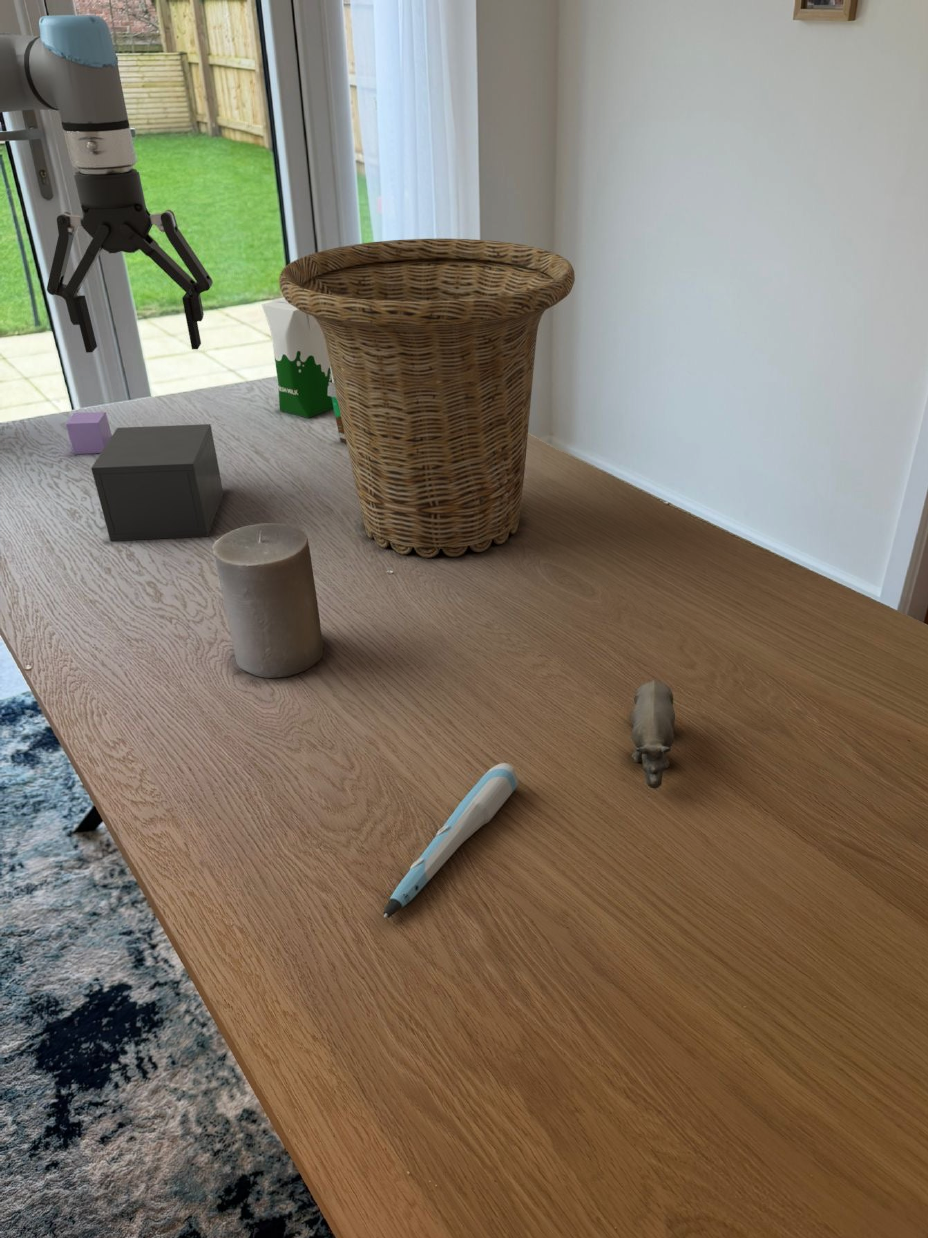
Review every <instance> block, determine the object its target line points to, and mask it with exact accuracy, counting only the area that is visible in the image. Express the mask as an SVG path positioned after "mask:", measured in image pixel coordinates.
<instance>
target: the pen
mask: <svg viewBox="0 0 928 1238" xmlns="http://www.w3.org/2000/svg"><path fill="white" fill-rule="evenodd" d="M518 785H519V779H518V776H517V772H516V771H515V768H514V767H513V765H511V764H509V763H508V762H501V763H498V764H496V765H494V766H492V767H491V768H490V769H489V770H487V772H486V773H485V774H483V775H482V777H480V779H479V780H478V781H477V782H476V784H475V785H474V786H473V787H472V788H471V790H470V791H469V792H467V794H466V795H465V797H464V798H463V799H462V800H461V801H460V803H459V804H458V805H457V807H456V808H455V809H454V811H453V812H452V813H451V815H450V816H449V818H448V819H447V820H446V822H445V823H444V824H443V825H442V827H441V828H440V829H439V830H437V832H436V835H435V836H434V838H433V839H432V840H431V842H430V843H429V845H428V846H427V847H426V849H425V850H424V851H423V852H422V854H421V855H420V856H419V857H418V859H417V860H415V861H414V862H412V864H411V866H410V869H409V870H408V872H407V873H406V874H405V876H404V877H403V878H402V880H401V881H400V882H399V884H398V885H397V887H396V888H395V890H394V891H393V893H391V896H390V897H389V899H388V903H387V904H386V907H385V908H384V911H383V918H384V919H386V918H390V917H391V916H393V915H394V914H396V913H397V912H398V911H400V910H401V909H402V908H404V907H405V906H406V905H408V904H409V903H410V902H411V901H412V900H413V899H414V898H415V897H416V896H417V895H418V894H419V892H421V891H422V889H423V888H424V887H425V886H426V885H427V884H428V882H429V881H430V880H431V879H432V878H433V877H434V875H436V873H437V872H438V871H439V870H440V869H441V868H442V867H443V866H444V865H445V863H446V862H447V861H448V860H449V859H450V857H452V855H454V853H455V852H456V851H457V849H459V847H461V845H462V844H463V843H464V842H466V841H467V840H468V839H469V838H470V837H471V836H472V835H473V834H474V833H475V832H476V833H477V831H478V830H479V829H481V827H483V826H484V825H486V824H488V823H489V822H490V821H491V820H492V819H493V817H494V816H495V815H496V814H497V812H498V811H499V810H500V809H501V807H502V806H503V805H504V804H505V802H506V801H507V800H508V799H509V797H510V796H511V795H512V794H513V792H514V791H515V790H516V789H517V787H518Z"/></svg>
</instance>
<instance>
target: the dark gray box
mask: <svg viewBox="0 0 928 1238" xmlns="http://www.w3.org/2000/svg"><path fill="white" fill-rule="evenodd" d="M111 435H112V437H111V438H110V440H109V441H108V443H107V444H106V446H105V447H104V449H103V451H102V452H101V453H99V455H98V457H96V459H95V461H94V463H93V464H92V465H91V467H90V469H91V473H92V477H93V480H94V484H95V488H96V492H97V497H98V499H99V503H100V507H101V511H102V514H103V519H104V522H105V526H106V529H107V534H108V538H109V541H110V542H121V541H122V542H123V541H142V540H143V541H144V540H160V539H161V540H162V539H163V540H164V539H180V538H181V539H183V538H203V537H204V538H207V537H209V534H210V531H211V528H212V525H213V522H214V520H215V517H216V515H217V512H218V509H219V506H220V503H221V501H222V498H223V494H224V488H223V482H222V477H221V473H220V467H219V462H218V455H217V452H216V445H215V440H214V435H213V430H212V424H211V423H204V424H179V425H178V424H177V425H156V426H155V425H154V426H153V425H152V426H127V427H116V429H115V431H114V432H113V434H111Z"/></svg>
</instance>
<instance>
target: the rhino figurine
mask: <svg viewBox="0 0 928 1238" xmlns="http://www.w3.org/2000/svg"><path fill="white" fill-rule="evenodd" d="M633 702H634V707H633V710H632V712H631V716H630V721H631V725H632V730H631V736H630V737H631V741H632V742H633V744H634V745H635V747H636V748H635V751H634V752H633V753H632V754H631V758H632V759H633V761H634V762H635V763H642V770H643V772H644V774H645V781H646V785H647V787H649V788H650V789H652V790H653V789H654V790H655V789H658V788H659V787H661V786H662V782H663V773H664V771H665V770H667V769H668V768H669V766H670V760H668V758H667V756H666V755H667V754H668V753H669V752H671V748H672V745H673V744H674V741H675V734H674V729H673V728H674V725H675V721H676V713H675V708H674V694H673V691H672V689H671V688H670V687H669V686H668V685H667V684H665V683H663V682H660V681H658V680H656V679H653V680H651V681H649V682H646V683H644V684H642V685H640V686H639V687H638V688H637V690H636V691H635V694H634V697H633Z"/></svg>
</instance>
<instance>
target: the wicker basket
mask: <svg viewBox="0 0 928 1238" xmlns="http://www.w3.org/2000/svg"><path fill="white" fill-rule="evenodd" d="M575 278H576V277H575V269H574V267H573V265H572V264H571V262H570V261H569V260H568V259H566V257H564V256H561V254H558V253H555V252H552V251H550V250H546V249H543V248H539V247H536V246H535V247H534V246H530V245H526V244H520V243H513V242H506V241H498V240H489V239H488V240H486V239H471V238H411V239H395V240H394V239H392V240H381V241H372V242H371V241H370V242H363V243H357V244H349V245H345V246H344V245H343V246H338V247H334V248H329V249H325V250H321V251H317V252H314V253H311V254H308V255H305V256H302V257H299V258H298V259H295V260H293V261H291V262H289V263H288V264H287V265H286V266H284V267H283V269H282V270H281V272H280V274H279V277H278V283H279V285H278V286H279V291H280V292H281V294H282V297H283V298H285V300H286V301H287V302H288V303H289V304H291V305H293V306H294V307H296V308H297V309H299V310H300V311H302V312H304V313H306V314H309V315H311V316H313V317H314V318H315V319H316V320H317V322H318V324H319V326H320V328H321V330H322V332H323V335H324V338H325V342H326V347H327V352H328V356H329V361H330V369H331V376H332V381H333V383H334V385H335V390H336V394H337V399H338V404H339V409H340V413H341V418H342V423H343V428H344V433H345V437H346V442H347V444H346V446H347V452H348V456H349V460H350V467H351V471H352V475H353V480H354V485H355V490H356V493H357V499H358V503H359V508H360V512H361V517H362V520H363V524H364V529H365V532H366V534H367V536H368V538H369V539H374V541H375V542H376V544H377V545H378V546H379V547H381V548H383V549H385V548H388V547H389V546H391V548H392V549H393V550H394V551H395V552H396V553H397V554H400V555H409V554H410V553H411V552H412V551H413V548H414V551H415V552H416V553H417V554H418V555H419V556H420V557H422V558H426V559H430V558H434V557H436V556H437V555H438V554H439V552H440V550H442V552H443V554H445V555H447V557H450V558H458V557H461V556H462V555H464V554H465V553H466V551H467V550H468V547H469V548H470V550H472V552H475V553H482V552H484V551H486V550H488V549H489V548H490V546H491V544H492V542H493V543H494V544H496V545H502V544H504V543H505V542H506V541H507V539H508V537H509V535H515V534H516V532H517V530H518V526H519V523H520V518H521V510H522V500H523V493H524V492H523V491H524V482H525V481H524V479H525V471H526V461H527V460H526V458H527V449H528V438H529V436H528V435H529V426H530V425H529V424H530V413H531V404H532V403H531V402H532V393H533V392H532V390H533V383H534V382H533V380H534V369H535V358H536V350H537V348H536V347H537V337H538V330H539V325H540V322H541V319H542V317H543V315H544V313H545V312H546V311H547V310H548V309H550V308H552V307H554V306H556V305H557V304H558V303H561V301H562V300H564V299H565V298H566V297H568V295H570V293H571V292H572V290H573V287H574V284H575V280H576V279H575Z"/></svg>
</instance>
